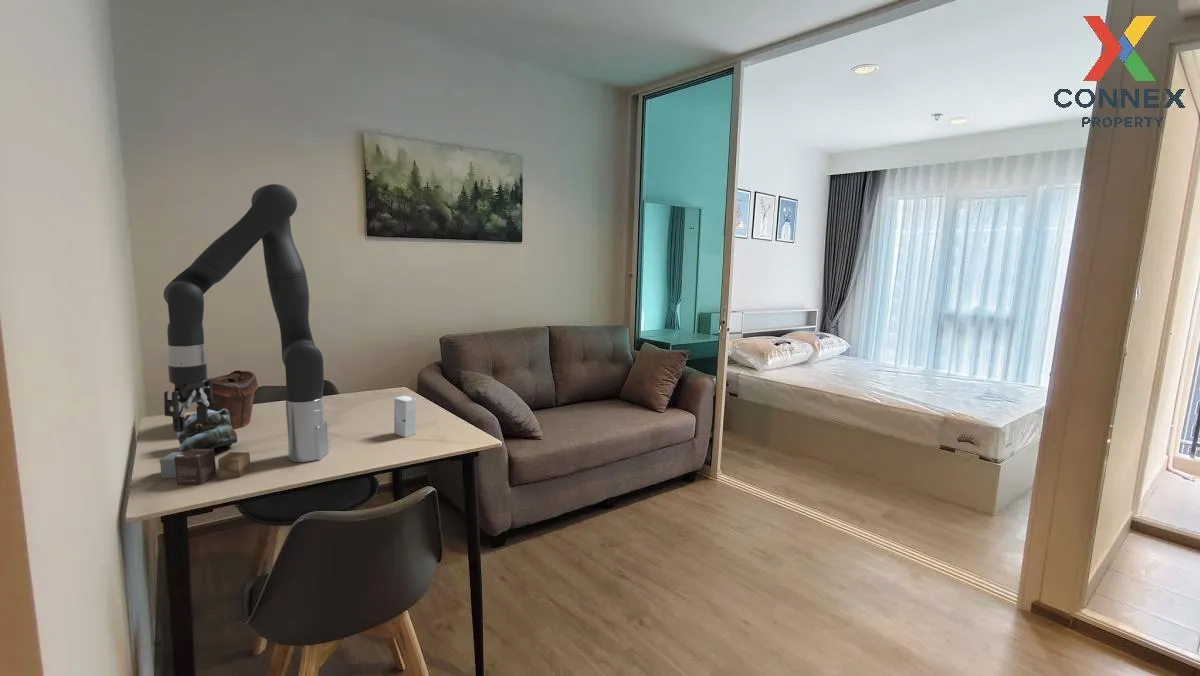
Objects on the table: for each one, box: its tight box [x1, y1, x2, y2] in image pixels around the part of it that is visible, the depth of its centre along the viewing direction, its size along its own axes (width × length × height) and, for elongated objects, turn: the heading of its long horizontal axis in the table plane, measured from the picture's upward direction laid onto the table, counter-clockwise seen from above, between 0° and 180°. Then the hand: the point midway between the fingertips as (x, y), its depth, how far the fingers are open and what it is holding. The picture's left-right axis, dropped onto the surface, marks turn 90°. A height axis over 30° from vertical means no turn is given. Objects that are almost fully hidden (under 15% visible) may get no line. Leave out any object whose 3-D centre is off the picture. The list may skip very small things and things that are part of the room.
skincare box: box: [393, 395, 417, 438], centre depth 175 cm, size 6×4×12 cm
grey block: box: [159, 451, 183, 479], centre depth 140 cm, size 5×5×5 cm
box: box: [174, 448, 217, 485], centre depth 136 cm, size 6×6×7 cm
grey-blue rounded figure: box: [175, 406, 238, 452], centre depth 156 cm, size 15×12×14 cm
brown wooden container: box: [195, 369, 259, 430], centre depth 178 cm, size 18×20×18 cm
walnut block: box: [217, 451, 252, 479], centre depth 141 cm, size 5×5×5 cm
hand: (191, 426), depth 135 cm, fingers open, 8 cm apart
